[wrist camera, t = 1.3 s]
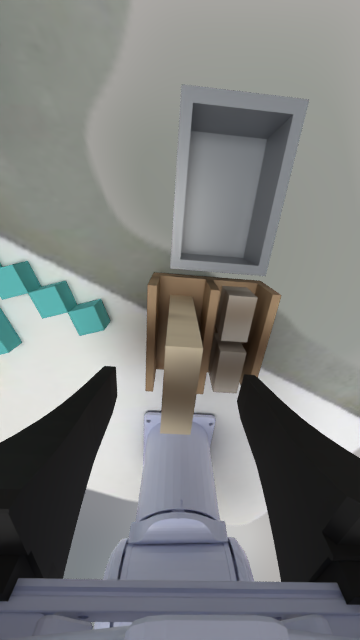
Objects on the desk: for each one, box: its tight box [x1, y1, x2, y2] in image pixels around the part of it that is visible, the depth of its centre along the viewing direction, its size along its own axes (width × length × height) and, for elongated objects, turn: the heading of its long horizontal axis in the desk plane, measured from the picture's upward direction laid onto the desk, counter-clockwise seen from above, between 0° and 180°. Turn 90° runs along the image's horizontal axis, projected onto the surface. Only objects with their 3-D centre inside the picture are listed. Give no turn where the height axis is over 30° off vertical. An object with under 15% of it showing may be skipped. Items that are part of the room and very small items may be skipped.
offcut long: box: [208, 333, 246, 393], centre depth 18 cm, size 4×2×3 cm, turn 175°
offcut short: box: [216, 286, 258, 342], centre depth 17 cm, size 4×2×3 cm, turn 175°
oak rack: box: [146, 272, 281, 394], centre depth 18 cm, size 9×9×4 cm
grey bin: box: [170, 84, 309, 276], centre depth 14 cm, size 9×6×4 cm
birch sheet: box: [160, 295, 203, 435], centre depth 15 cm, size 6×2×8 cm, turn 175°
